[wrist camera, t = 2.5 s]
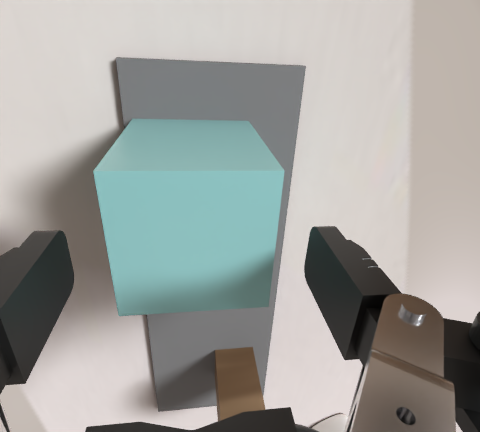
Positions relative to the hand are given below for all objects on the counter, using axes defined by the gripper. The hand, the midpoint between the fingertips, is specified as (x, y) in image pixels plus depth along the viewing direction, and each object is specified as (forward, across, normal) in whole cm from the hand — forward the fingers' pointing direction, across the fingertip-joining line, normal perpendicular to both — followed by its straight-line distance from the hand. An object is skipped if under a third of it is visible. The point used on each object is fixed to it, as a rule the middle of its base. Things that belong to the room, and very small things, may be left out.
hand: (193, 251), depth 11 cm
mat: (+7, -1, +6) cm, 9 cm away
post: (+6, -3, +13) cm, 15 cm away
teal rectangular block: (+6, 0, -1) cm, 6 cm away
